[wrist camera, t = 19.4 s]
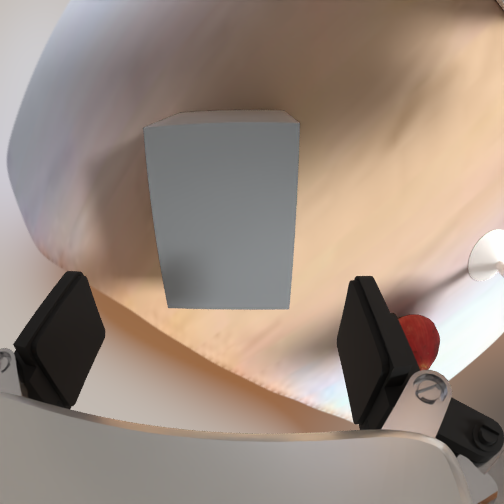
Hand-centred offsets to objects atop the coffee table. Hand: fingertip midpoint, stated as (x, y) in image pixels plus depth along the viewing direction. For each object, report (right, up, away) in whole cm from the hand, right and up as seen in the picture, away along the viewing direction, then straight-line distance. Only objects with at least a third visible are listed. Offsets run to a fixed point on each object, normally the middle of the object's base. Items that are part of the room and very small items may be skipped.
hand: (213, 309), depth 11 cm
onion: (+18, -5, +22) cm, 28 cm away
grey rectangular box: (0, +8, +14) cm, 16 cm away
